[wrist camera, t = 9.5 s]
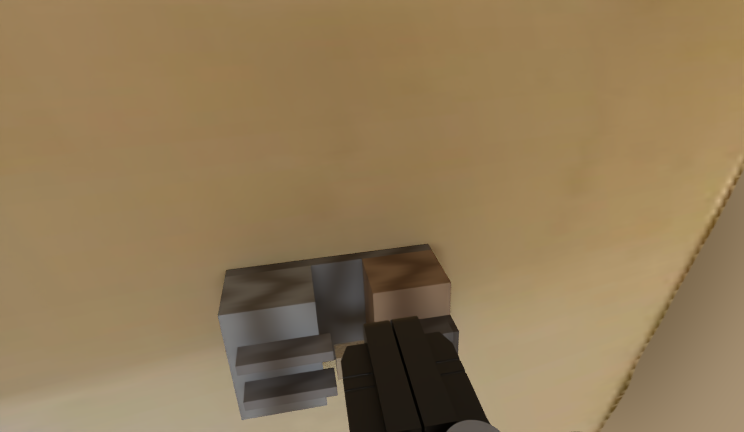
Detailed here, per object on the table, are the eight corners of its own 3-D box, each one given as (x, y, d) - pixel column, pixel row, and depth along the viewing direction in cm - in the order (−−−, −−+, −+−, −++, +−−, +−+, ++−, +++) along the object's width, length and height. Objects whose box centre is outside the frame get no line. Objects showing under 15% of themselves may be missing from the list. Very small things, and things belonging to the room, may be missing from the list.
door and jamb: (428, 244, 48) (460, 298, 40) (427, 337, 54) (455, 402, 45) (226, 270, 46) (214, 334, 37) (246, 365, 51) (239, 441, 42)
